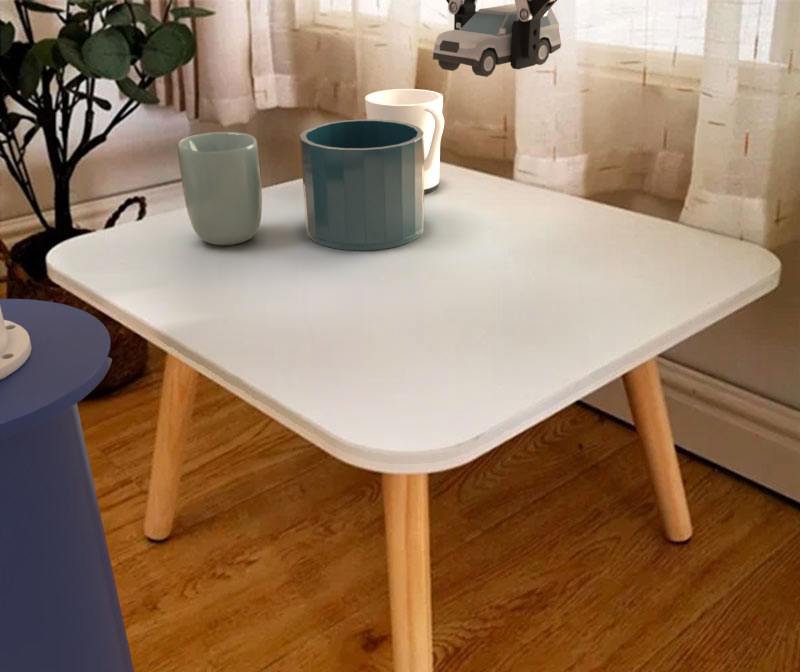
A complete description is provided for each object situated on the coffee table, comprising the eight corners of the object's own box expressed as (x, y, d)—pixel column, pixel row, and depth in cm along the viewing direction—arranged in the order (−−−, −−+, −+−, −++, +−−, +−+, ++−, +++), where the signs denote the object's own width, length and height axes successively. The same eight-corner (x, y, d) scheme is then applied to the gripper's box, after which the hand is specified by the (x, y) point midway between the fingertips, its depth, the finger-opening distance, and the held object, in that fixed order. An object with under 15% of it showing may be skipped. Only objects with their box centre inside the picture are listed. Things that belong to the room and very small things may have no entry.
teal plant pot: (367, 259, 91) (363, 156, 86) (282, 232, 98) (274, 136, 93) (447, 227, 99) (448, 131, 94) (363, 204, 106) (360, 113, 101)
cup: (258, 223, 101) (250, 128, 96) (272, 246, 95) (264, 147, 90) (185, 231, 99) (172, 135, 94) (194, 256, 93) (181, 155, 88)
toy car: (424, 73, 84) (424, 13, 82) (517, 54, 92) (519, -2, 90) (471, 81, 81) (473, 19, 78) (564, 61, 88) (568, 3, 86)
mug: (352, 185, 112) (349, 96, 107) (409, 171, 117) (408, 85, 112) (411, 206, 105) (410, 112, 100) (469, 190, 110) (471, 100, 105)
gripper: (394, -164, 80) (398, 58, 89) (565, -172, 70) (550, 80, 79) (450, -164, 85) (448, 48, 94) (618, -170, 75) (598, 67, 84)
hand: (495, 60), depth 86 cm, fingers closed on toy car, 5 cm apart
